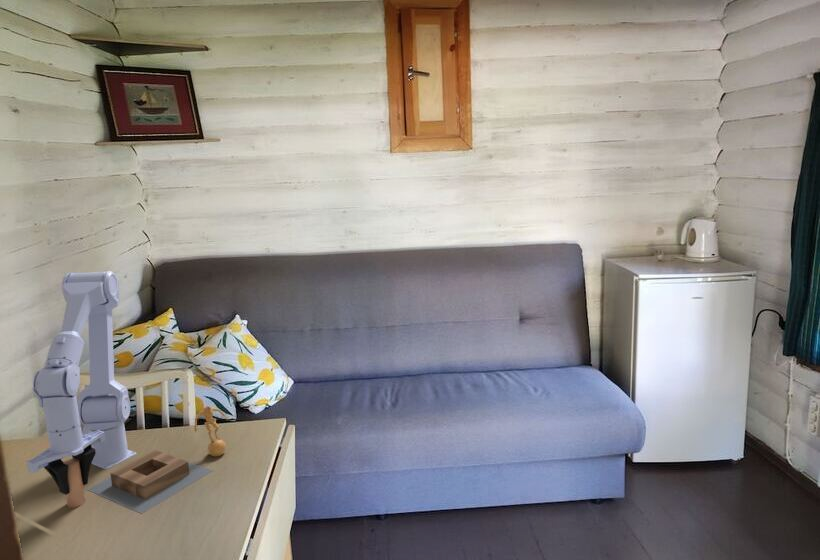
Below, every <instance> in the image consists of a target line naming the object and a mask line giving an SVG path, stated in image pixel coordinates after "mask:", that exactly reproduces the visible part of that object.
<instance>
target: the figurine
mask: <svg viewBox="0 0 820 560" xmlns="http://www.w3.org/2000/svg"><path fill="white" fill-rule="evenodd" d="M214 412H219V413H220V414H221V415H222V416H223V417H225V419H226V420H228V418H227V416H226V414H225V413H224V412H223V411H222V410H221V409H220V408H215V407H212V406H210V405H207V406H203V407H202V409H201V411H200V412H199V414H197V415H196V416H195V417H194V432H198V430H199V429H198V428H197V426H198V419H199V418H200V417H202V416H203V417H204V418H205V422H204V427H205V428H206V430H207V431H208V433H207V435H208V436H209V437H208V438H209V439H210V442H209V444H208V446H207V452H208V453H209V454H210V455H211V456H212V457H215V458H216V457H220V456H222V455H224V453H225V451H226V450H227V448H226V447H227V446H226V442H225V441H223V439H221V438H219V436H218V433H217V432H218V431H219V428H220V427H219V425H218V424H217V422H216V418H213V414H214ZM213 428H215V429H214V433H213V434H214V437H215V439H213V437H212V429H213Z"/></svg>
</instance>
